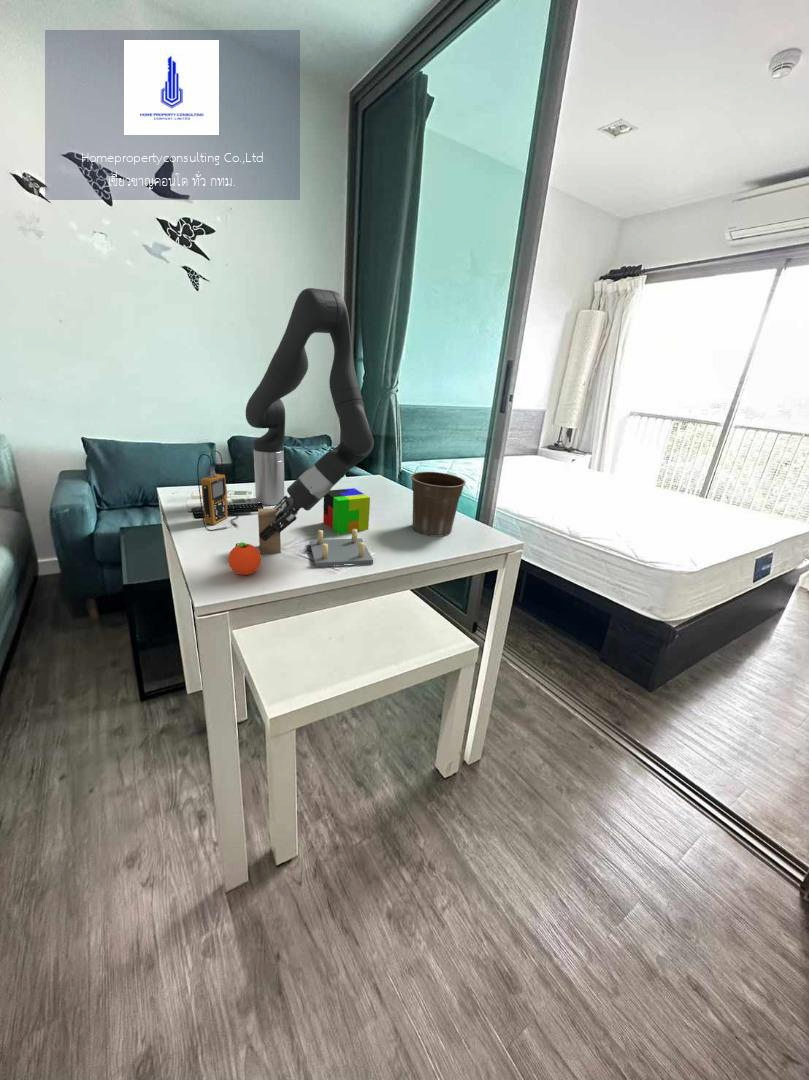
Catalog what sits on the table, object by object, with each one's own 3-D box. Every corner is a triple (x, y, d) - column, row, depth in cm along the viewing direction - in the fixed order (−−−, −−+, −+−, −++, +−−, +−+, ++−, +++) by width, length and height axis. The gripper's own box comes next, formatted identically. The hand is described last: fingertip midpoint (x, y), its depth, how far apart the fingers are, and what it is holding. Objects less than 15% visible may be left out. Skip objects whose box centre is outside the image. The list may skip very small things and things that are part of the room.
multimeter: (229, 534, 118) (224, 460, 110) (196, 528, 119) (188, 456, 112) (257, 517, 131) (254, 451, 124) (227, 512, 133) (222, 446, 125)
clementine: (221, 569, 98) (219, 540, 96) (250, 562, 103) (249, 534, 100) (237, 583, 93) (235, 553, 91) (267, 575, 98) (266, 545, 95)
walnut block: (259, 545, 112) (258, 508, 109) (279, 544, 114) (279, 508, 110) (259, 553, 108) (258, 515, 104) (280, 552, 109) (279, 514, 106)
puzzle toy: (353, 518, 137) (354, 488, 134) (368, 529, 130) (370, 497, 126) (323, 522, 132) (323, 490, 128) (337, 534, 124) (338, 500, 121)
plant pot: (469, 535, 132) (477, 483, 126) (425, 542, 124) (431, 487, 118) (438, 518, 145) (444, 470, 139) (396, 523, 137) (400, 473, 131)
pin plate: (309, 544, 116) (309, 527, 114) (361, 542, 120) (362, 526, 118) (315, 567, 103) (315, 549, 102) (372, 564, 108) (374, 546, 106)
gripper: (297, 469, 112) (250, 514, 113) (302, 484, 100) (249, 535, 101) (318, 489, 116) (272, 533, 117) (325, 506, 103) (274, 555, 104)
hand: (261, 533), depth 109 cm, fingers closed on walnut block, 5 cm apart
